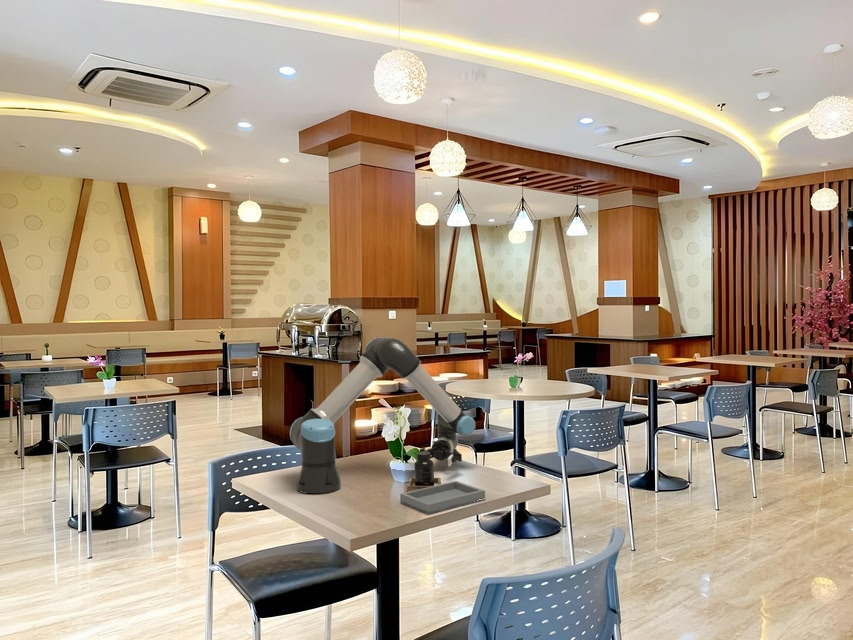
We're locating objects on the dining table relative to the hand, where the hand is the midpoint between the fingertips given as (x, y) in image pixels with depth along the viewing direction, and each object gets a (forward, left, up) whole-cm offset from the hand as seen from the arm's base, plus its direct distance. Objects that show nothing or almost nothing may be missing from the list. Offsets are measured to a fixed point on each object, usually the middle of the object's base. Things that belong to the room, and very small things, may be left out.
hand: (430, 461), depth 224 cm
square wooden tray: (+8, -2, -7) cm, 11 cm away
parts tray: (+24, +5, -7) cm, 26 cm away
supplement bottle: (+8, -2, -7) cm, 11 cm away
